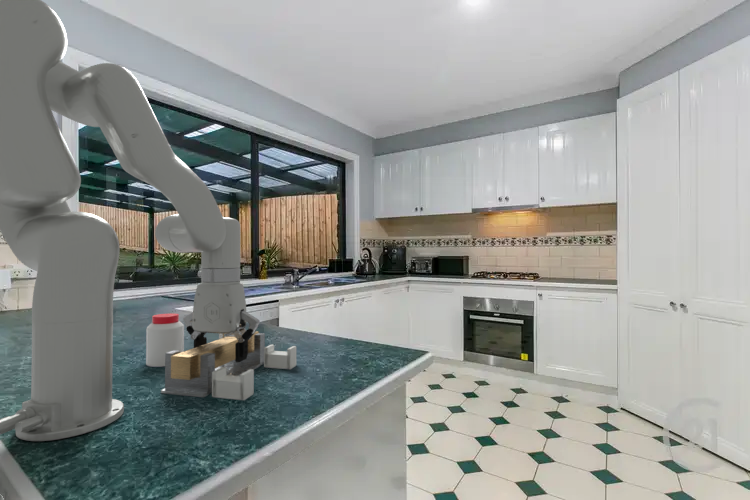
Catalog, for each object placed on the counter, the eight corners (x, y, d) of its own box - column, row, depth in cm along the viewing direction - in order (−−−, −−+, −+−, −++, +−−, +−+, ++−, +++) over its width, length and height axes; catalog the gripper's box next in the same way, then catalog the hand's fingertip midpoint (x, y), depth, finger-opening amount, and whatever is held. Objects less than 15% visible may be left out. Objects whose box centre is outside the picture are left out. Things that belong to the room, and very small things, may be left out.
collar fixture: (203, 397, 66) (204, 346, 66) (160, 393, 68) (161, 343, 68) (266, 362, 88) (267, 324, 88) (232, 360, 90) (232, 322, 90)
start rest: (244, 400, 65) (244, 374, 65) (211, 396, 66) (212, 372, 66) (296, 365, 85) (296, 346, 86) (270, 363, 87) (270, 344, 87)
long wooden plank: (190, 380, 66) (190, 357, 66) (170, 378, 67) (170, 355, 67) (258, 348, 89) (258, 331, 89) (243, 347, 90) (243, 330, 90)
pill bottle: (154, 369, 83) (155, 319, 83) (140, 362, 87) (140, 315, 88) (189, 361, 89) (190, 314, 89) (174, 355, 94) (174, 311, 94)
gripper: (172, 277, 77) (171, 361, 76) (248, 278, 73) (247, 367, 72) (197, 275, 84) (196, 352, 84) (267, 276, 80) (267, 356, 80)
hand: (220, 359), depth 78 cm, fingers open, 9 cm apart
